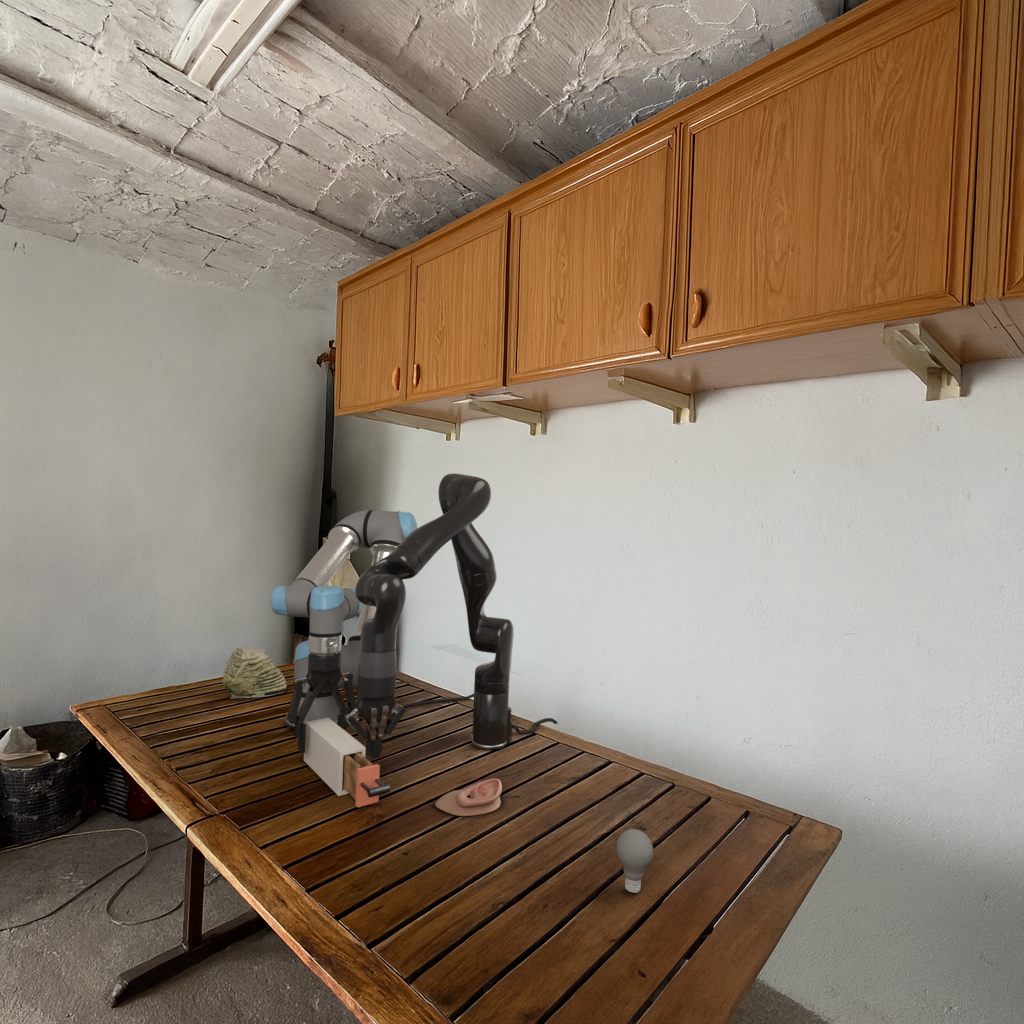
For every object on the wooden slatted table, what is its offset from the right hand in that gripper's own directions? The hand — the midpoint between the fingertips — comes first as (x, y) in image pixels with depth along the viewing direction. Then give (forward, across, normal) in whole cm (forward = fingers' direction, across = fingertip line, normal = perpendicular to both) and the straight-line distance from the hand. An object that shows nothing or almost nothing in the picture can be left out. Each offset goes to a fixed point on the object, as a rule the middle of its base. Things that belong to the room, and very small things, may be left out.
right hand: (373, 756), depth 128 cm
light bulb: (+11, +25, -47) cm, 55 cm away
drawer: (+11, 0, +9) cm, 14 cm away
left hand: (+8, 0, +28) cm, 29 cm away
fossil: (+11, +1, +87) cm, 88 cm away
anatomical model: (+11, +18, -8) cm, 23 cm away
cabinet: (+11, 0, +21) cm, 24 cm away
